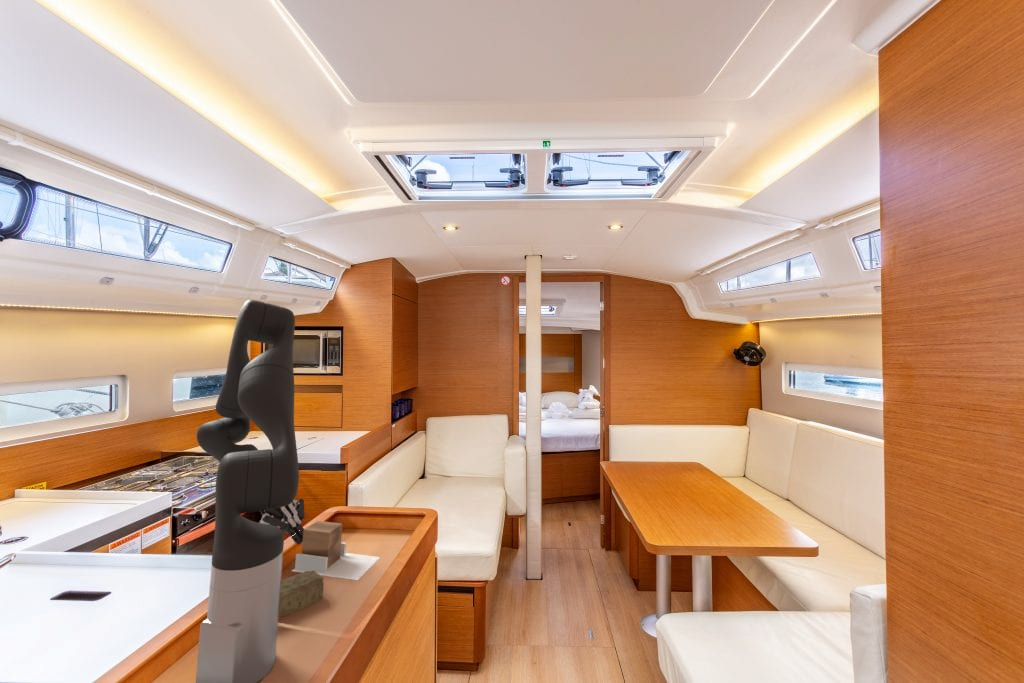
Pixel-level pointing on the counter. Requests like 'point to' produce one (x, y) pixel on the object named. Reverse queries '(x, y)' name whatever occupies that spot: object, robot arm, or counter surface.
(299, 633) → the counter surface
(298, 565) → the white tray
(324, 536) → the walnut block
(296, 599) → the stone block
